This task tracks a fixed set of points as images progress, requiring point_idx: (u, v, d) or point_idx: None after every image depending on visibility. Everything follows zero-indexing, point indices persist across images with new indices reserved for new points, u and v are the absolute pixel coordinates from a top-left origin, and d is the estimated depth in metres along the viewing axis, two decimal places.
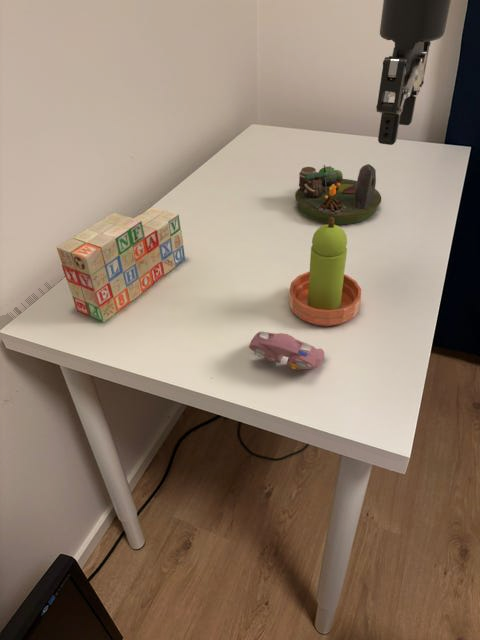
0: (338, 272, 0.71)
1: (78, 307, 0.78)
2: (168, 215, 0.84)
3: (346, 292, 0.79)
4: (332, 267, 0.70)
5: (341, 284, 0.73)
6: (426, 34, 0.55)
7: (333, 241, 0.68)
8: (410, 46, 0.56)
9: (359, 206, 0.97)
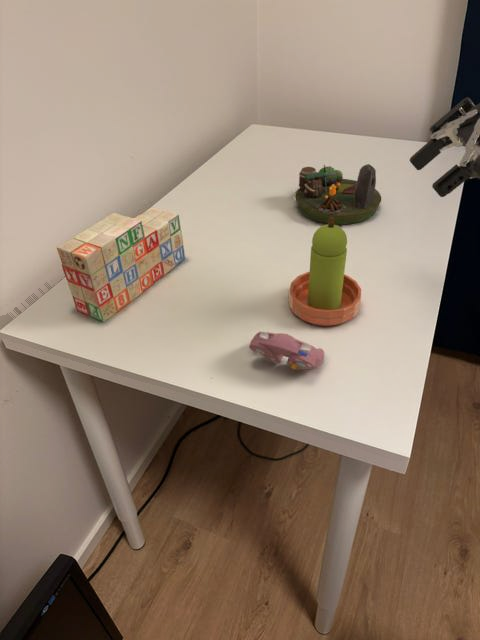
0: (338, 272, 0.71)
1: (78, 307, 0.78)
2: (168, 215, 0.84)
3: (346, 292, 0.79)
4: (332, 267, 0.70)
5: (341, 284, 0.73)
6: None
7: (333, 241, 0.68)
8: None
9: (359, 206, 0.97)
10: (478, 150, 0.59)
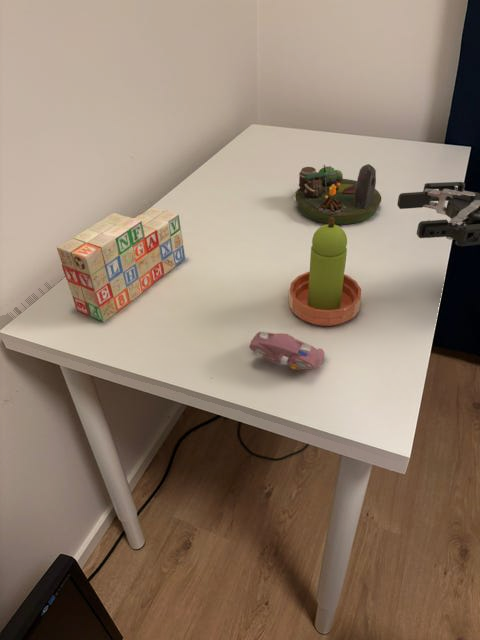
0: (338, 272, 0.71)
1: (78, 307, 0.78)
2: (168, 215, 0.84)
3: (346, 292, 0.79)
4: (332, 267, 0.70)
5: (341, 284, 0.73)
6: None
7: (333, 241, 0.68)
8: None
9: (359, 206, 0.97)
10: (466, 221, 0.65)
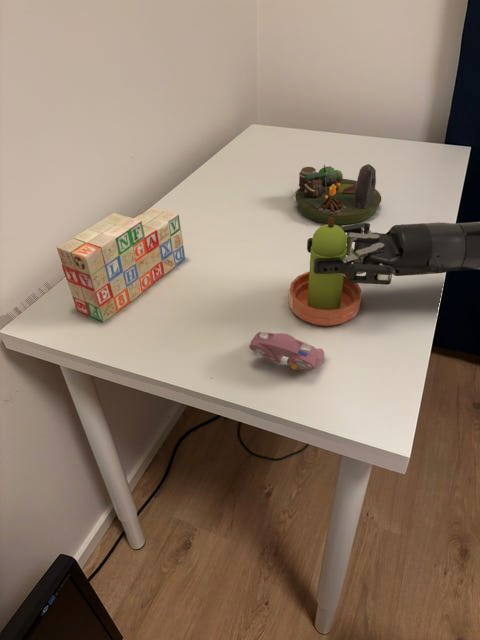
0: None
1: (78, 307, 0.78)
2: (168, 215, 0.84)
3: (346, 292, 0.79)
4: None
5: (341, 284, 0.73)
6: None
7: (333, 241, 0.68)
8: None
9: (359, 206, 0.97)
10: (360, 261, 0.69)
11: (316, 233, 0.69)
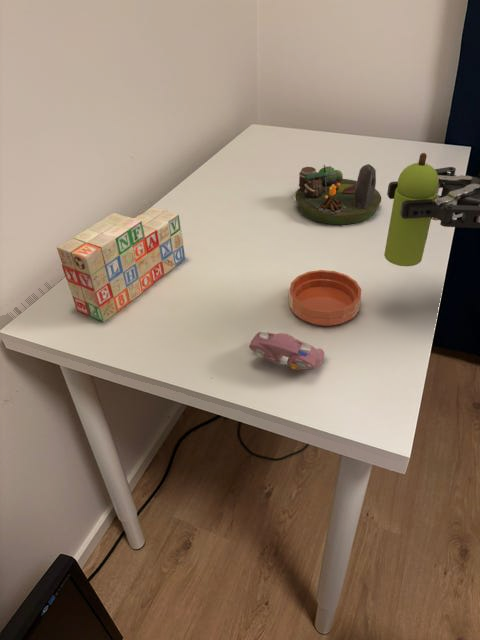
0: (427, 218, 0.63)
1: (78, 307, 0.78)
2: (168, 215, 0.84)
3: (346, 292, 0.79)
4: None
5: (427, 233, 0.66)
6: None
7: (425, 180, 0.60)
8: (474, 177, 0.66)
9: (359, 206, 0.97)
10: (454, 203, 0.61)
11: (404, 172, 0.62)
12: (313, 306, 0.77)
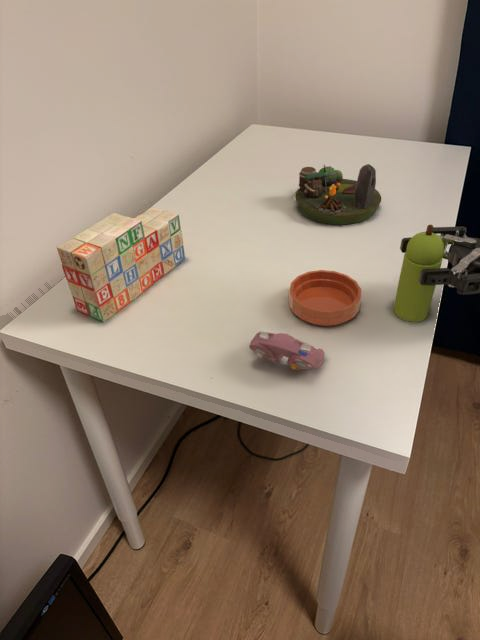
0: None
1: (78, 307, 0.78)
2: (168, 215, 0.84)
3: (346, 292, 0.79)
4: None
5: (433, 292, 0.72)
6: None
7: (432, 249, 0.66)
8: (478, 238, 0.72)
9: (359, 206, 0.97)
10: (467, 269, 0.66)
11: (413, 241, 0.68)
12: (313, 306, 0.77)
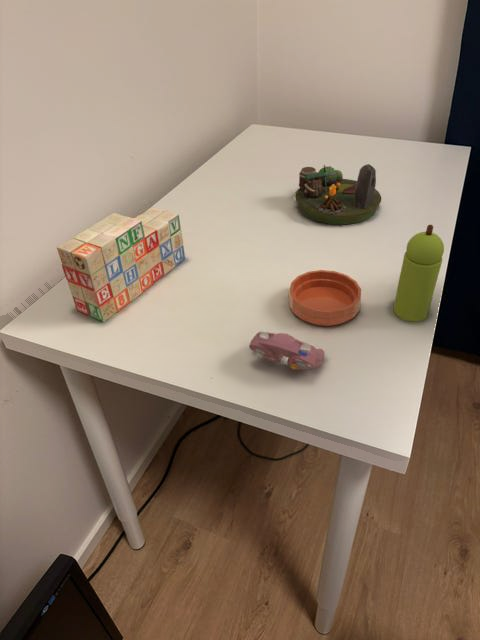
0: (433, 281, 0.69)
1: (78, 307, 0.78)
2: (168, 215, 0.84)
3: (346, 292, 0.79)
4: (428, 276, 0.69)
5: (433, 292, 0.72)
6: None
7: (432, 249, 0.66)
8: None
9: (359, 206, 0.97)
10: None
11: (413, 241, 0.68)
12: (313, 306, 0.77)
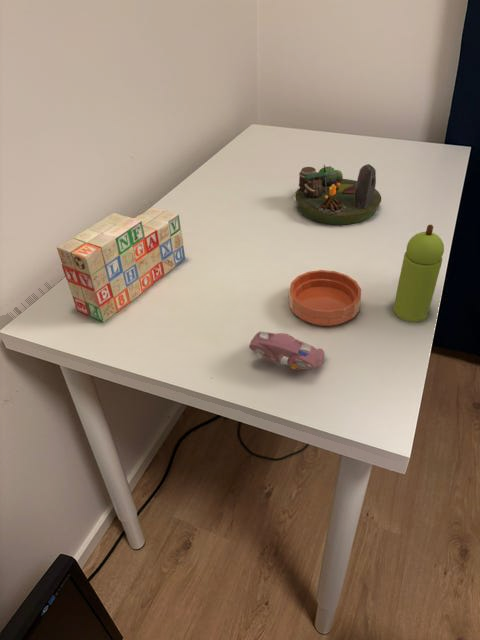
0: (433, 281, 0.69)
1: (78, 307, 0.78)
2: (168, 215, 0.84)
3: (346, 292, 0.79)
4: (428, 276, 0.69)
5: (433, 292, 0.72)
6: None
7: (432, 249, 0.66)
8: None
9: (359, 206, 0.97)
10: None
11: (413, 241, 0.68)
12: (313, 306, 0.77)
